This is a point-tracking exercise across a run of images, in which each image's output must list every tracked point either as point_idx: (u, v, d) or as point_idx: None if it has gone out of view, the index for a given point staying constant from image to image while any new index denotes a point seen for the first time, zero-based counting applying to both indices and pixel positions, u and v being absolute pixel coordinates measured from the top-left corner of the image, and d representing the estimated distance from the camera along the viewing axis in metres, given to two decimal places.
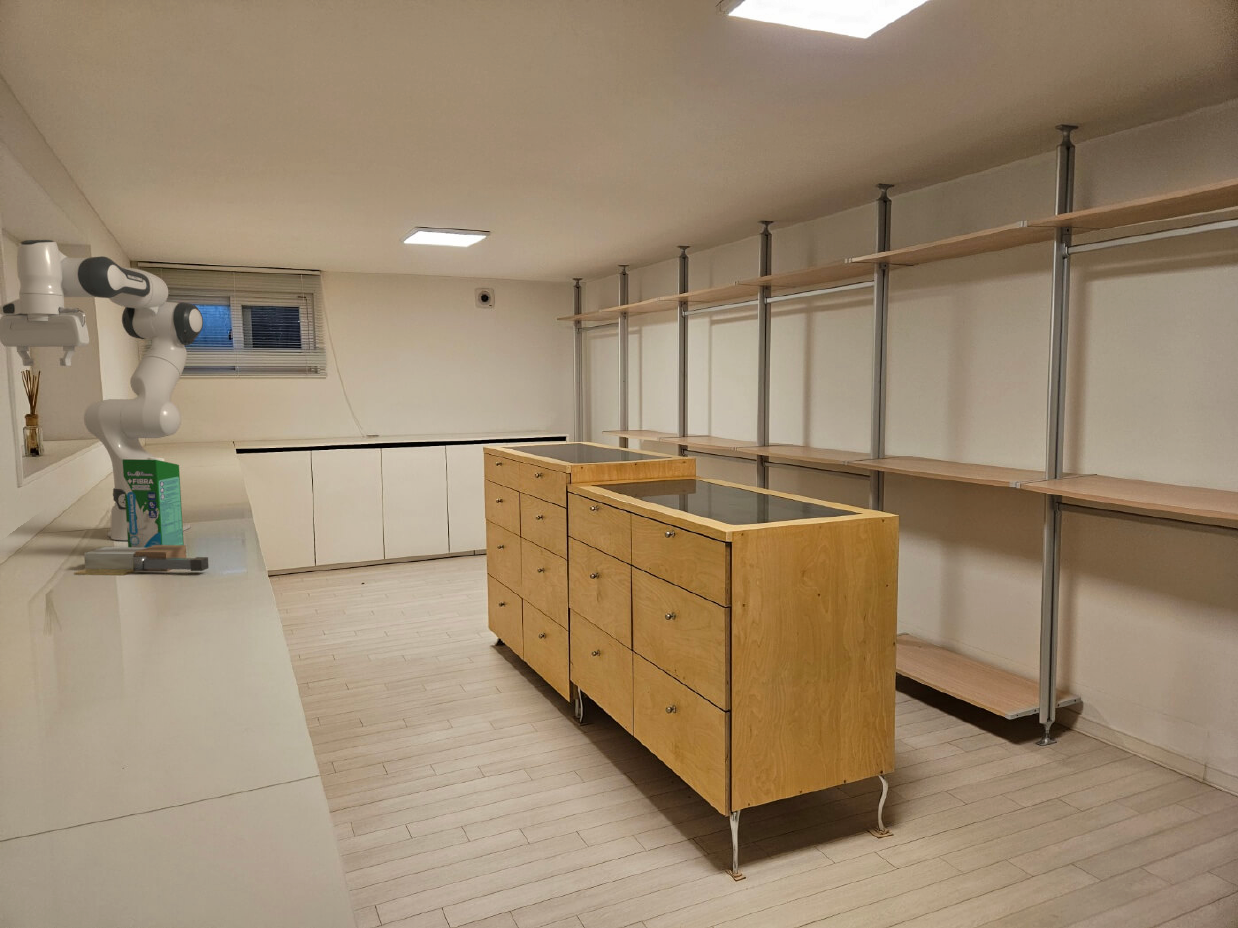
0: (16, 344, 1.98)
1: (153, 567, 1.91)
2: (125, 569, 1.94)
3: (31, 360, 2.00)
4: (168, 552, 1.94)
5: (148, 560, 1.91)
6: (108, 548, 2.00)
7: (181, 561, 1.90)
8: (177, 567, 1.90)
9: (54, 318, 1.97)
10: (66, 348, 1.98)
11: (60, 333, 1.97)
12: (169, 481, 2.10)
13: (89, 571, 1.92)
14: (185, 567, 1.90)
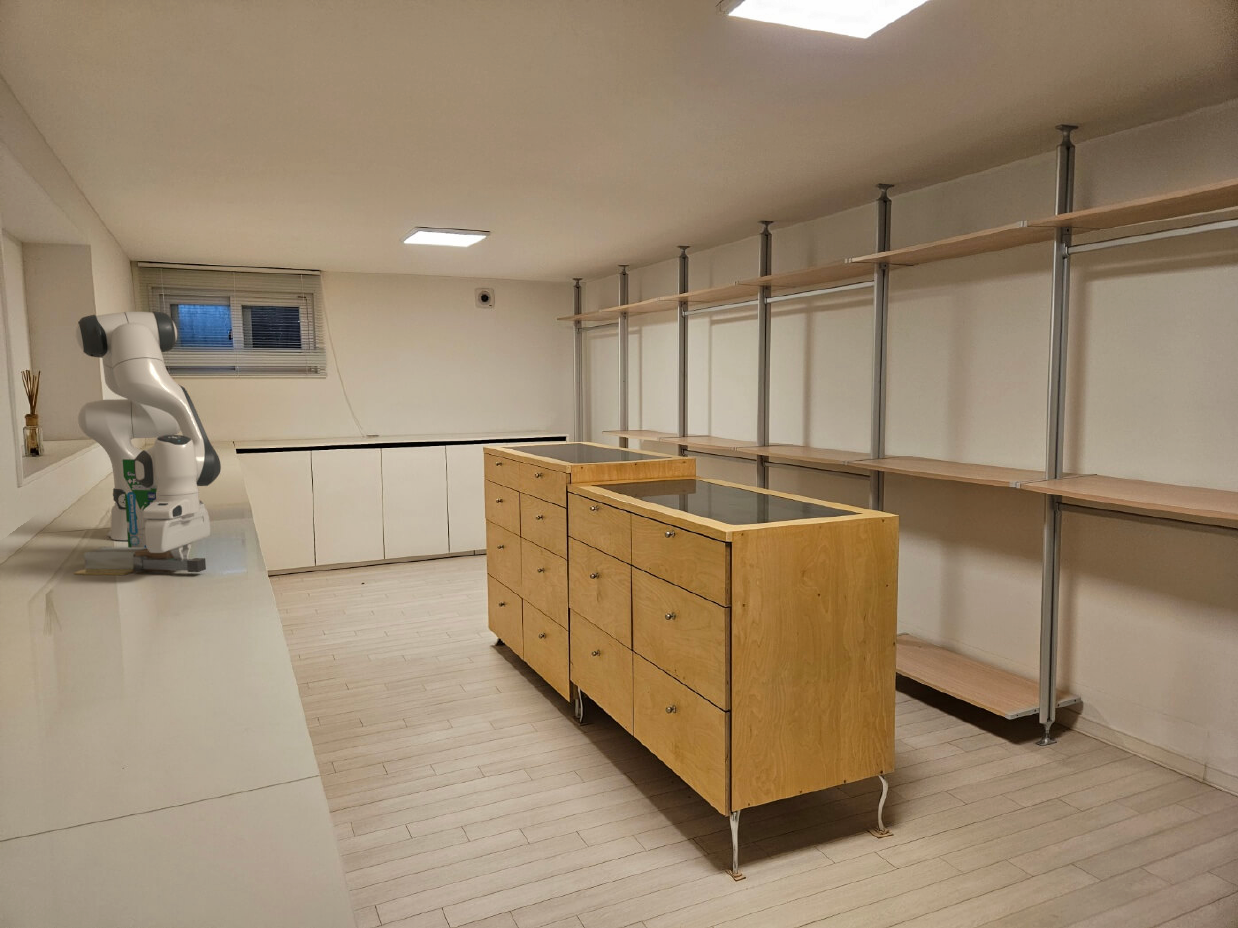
0: (172, 547, 1.86)
1: (152, 567, 1.90)
2: (125, 569, 1.94)
3: None
4: (168, 552, 1.94)
5: (147, 560, 1.90)
6: (108, 548, 2.00)
7: (178, 562, 1.89)
8: (175, 568, 1.89)
9: (197, 513, 1.96)
10: (189, 544, 1.94)
11: (200, 527, 1.97)
12: None
13: (89, 571, 1.92)
14: (182, 568, 1.89)
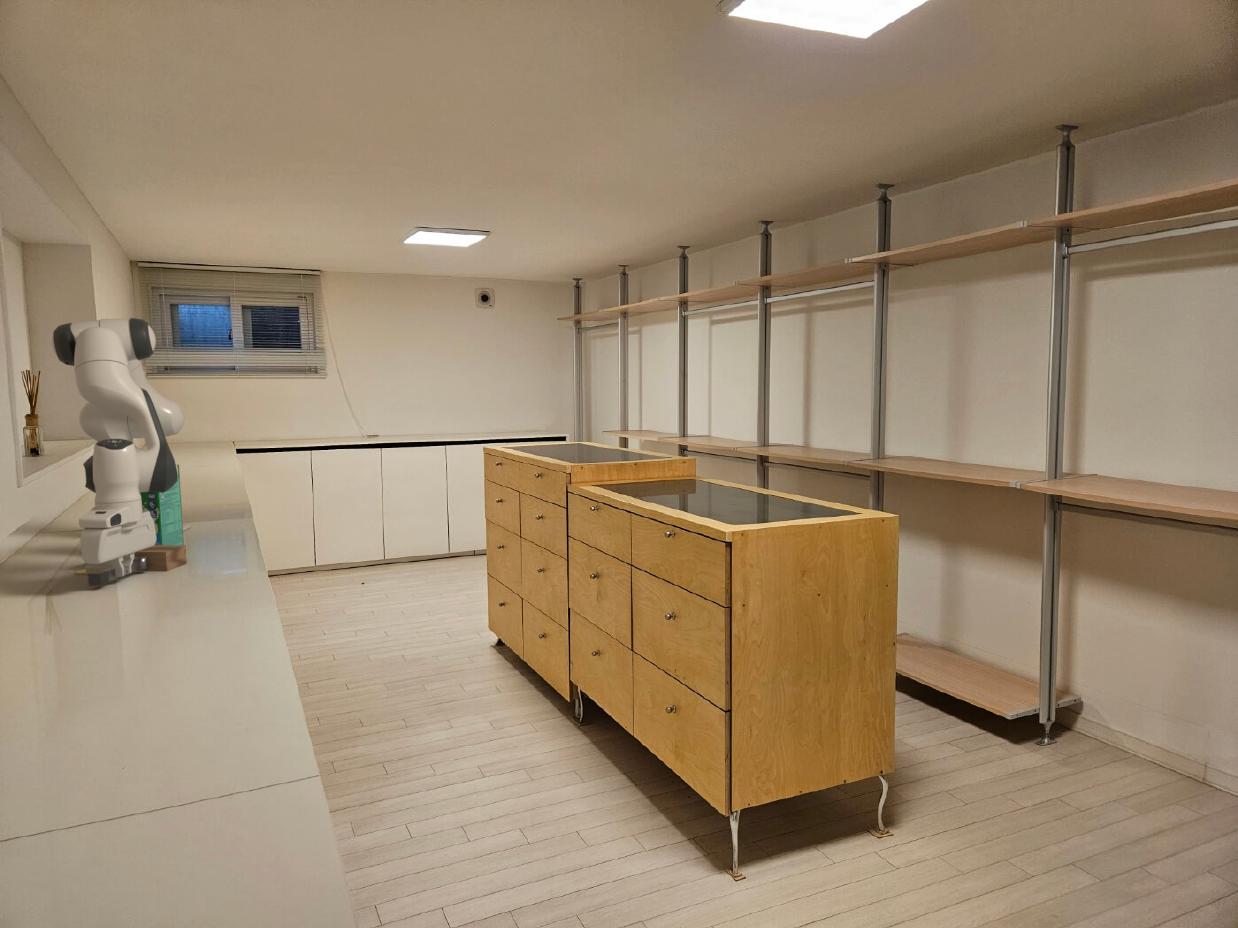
0: (111, 558, 1.76)
1: None
2: None
3: None
4: (168, 552, 1.94)
5: None
6: None
7: None
8: None
9: (140, 522, 1.86)
10: (132, 554, 1.84)
11: (144, 536, 1.87)
12: None
13: (89, 571, 1.92)
14: None
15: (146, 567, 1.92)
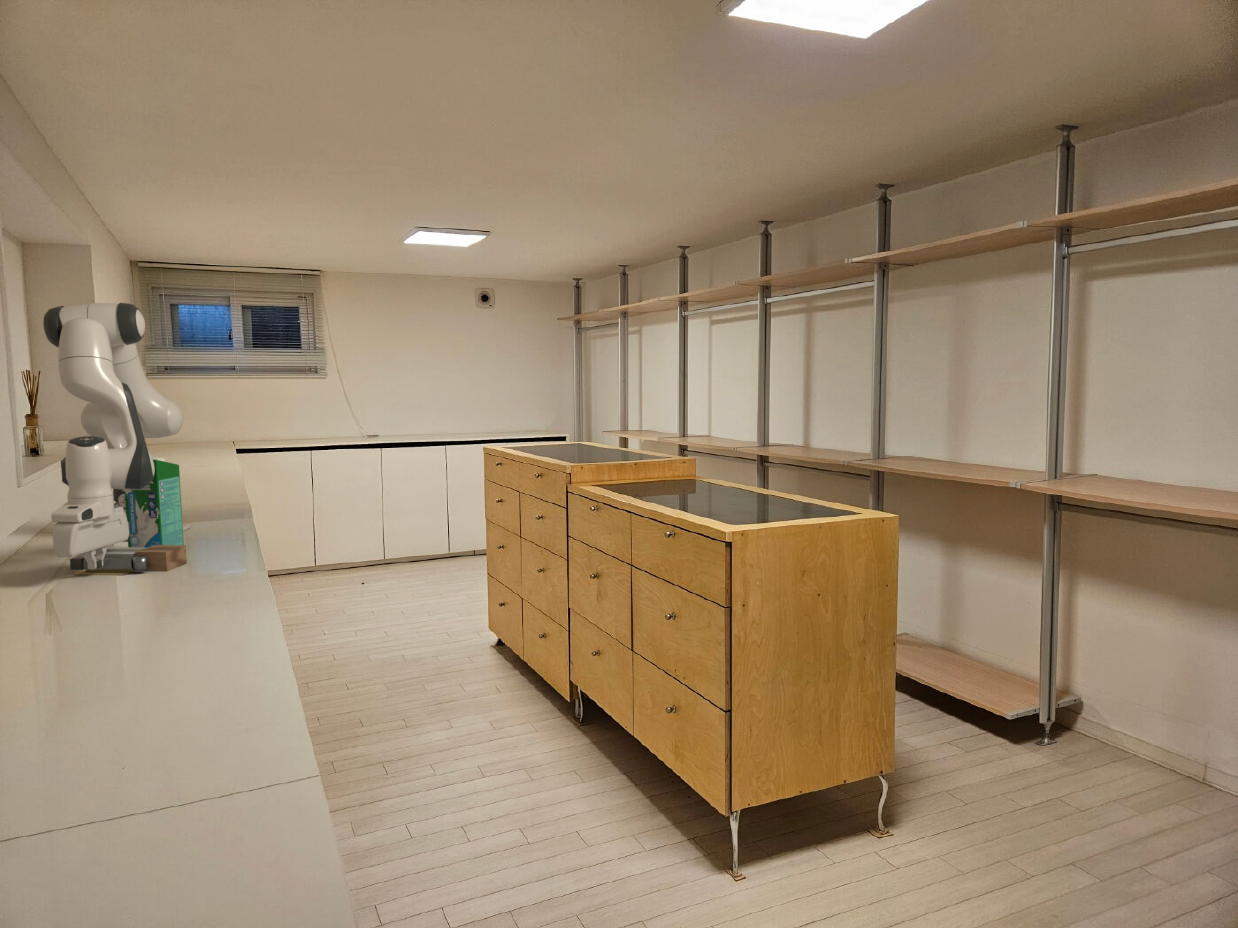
0: (83, 551, 1.83)
1: None
2: (125, 569, 1.94)
3: None
4: (168, 552, 1.94)
5: None
6: (108, 548, 2.00)
7: None
8: None
9: (112, 517, 1.92)
10: (104, 548, 1.91)
11: (116, 530, 1.94)
12: (169, 481, 2.10)
13: (89, 571, 1.92)
14: None
15: (136, 568, 1.90)
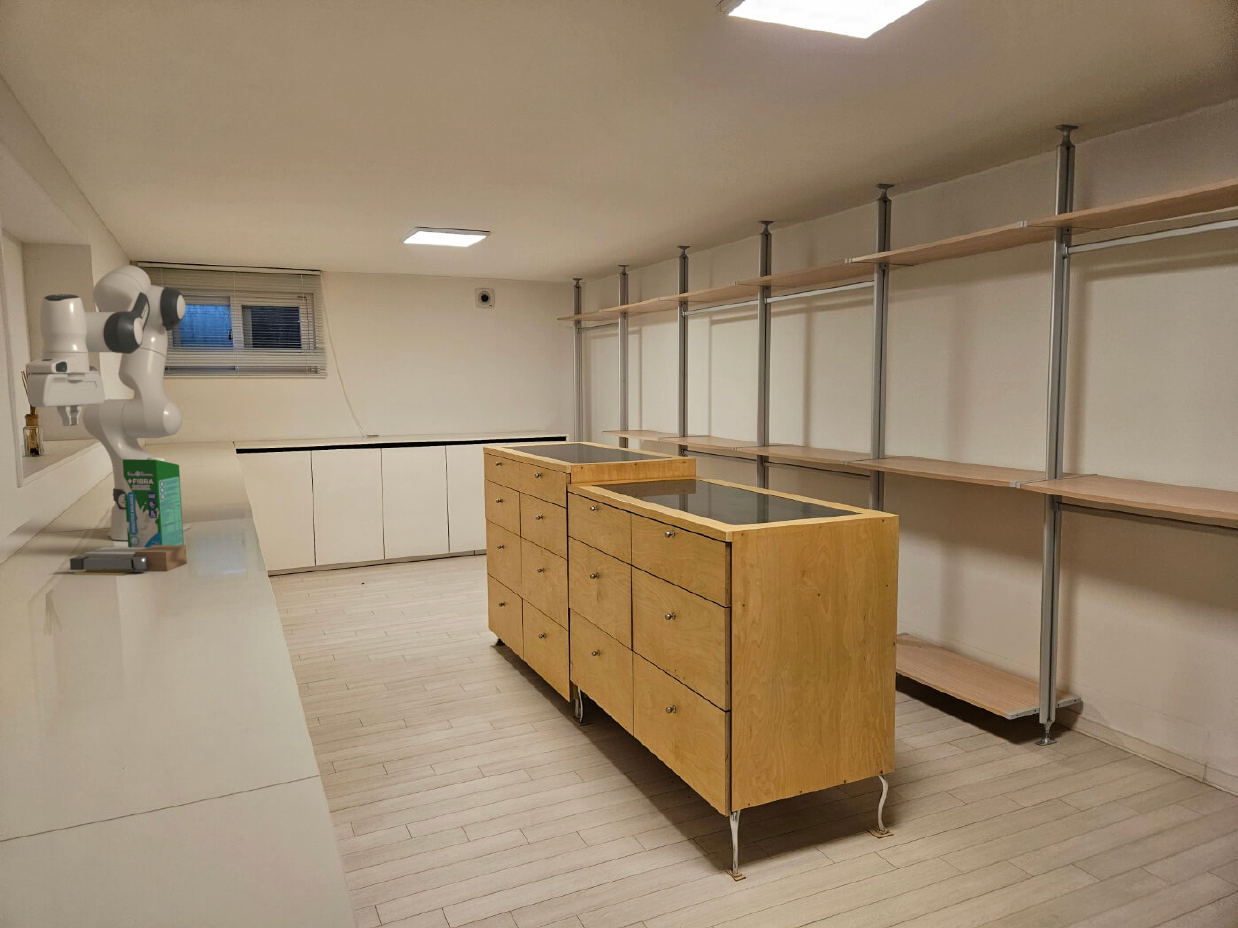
0: (57, 404, 1.85)
1: None
2: (125, 569, 1.94)
3: None
4: (168, 552, 1.94)
5: None
6: (108, 548, 2.00)
7: None
8: None
9: (87, 377, 1.94)
10: (79, 407, 1.93)
11: (91, 391, 1.96)
12: (169, 481, 2.10)
13: (89, 571, 1.92)
14: None
15: (136, 568, 1.90)
